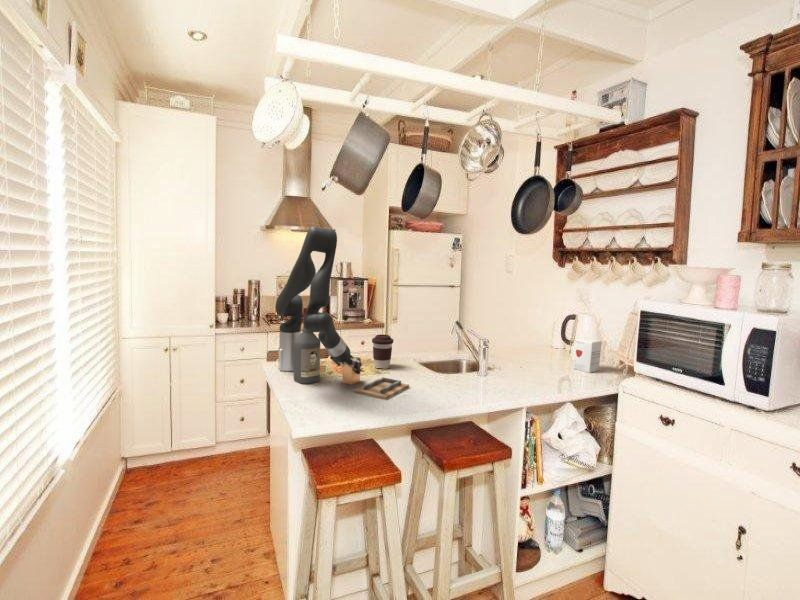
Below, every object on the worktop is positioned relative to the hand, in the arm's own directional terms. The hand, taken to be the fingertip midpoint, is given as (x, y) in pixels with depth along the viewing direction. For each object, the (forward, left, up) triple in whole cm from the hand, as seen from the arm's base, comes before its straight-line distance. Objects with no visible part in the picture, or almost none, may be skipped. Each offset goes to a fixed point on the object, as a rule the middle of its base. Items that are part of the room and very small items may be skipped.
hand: (354, 371), depth 184 cm
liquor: (-18, +6, -4) cm, 20 cm away
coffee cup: (+19, +17, -4) cm, 25 cm away
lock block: (-1, -1, -4) cm, 5 cm away
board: (+8, -14, -4) cm, 17 cm away
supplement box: (+115, -12, -4) cm, 115 cm away
